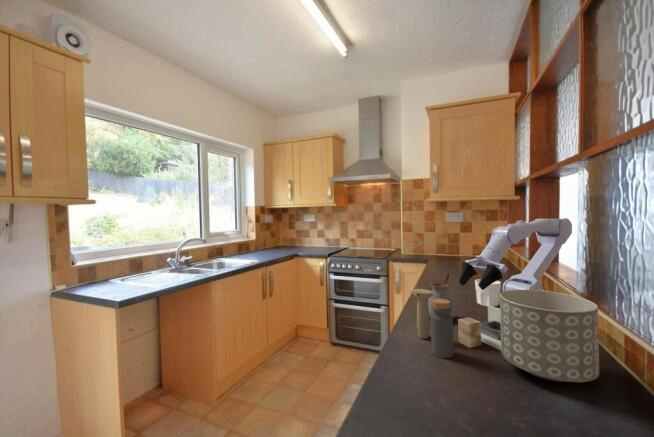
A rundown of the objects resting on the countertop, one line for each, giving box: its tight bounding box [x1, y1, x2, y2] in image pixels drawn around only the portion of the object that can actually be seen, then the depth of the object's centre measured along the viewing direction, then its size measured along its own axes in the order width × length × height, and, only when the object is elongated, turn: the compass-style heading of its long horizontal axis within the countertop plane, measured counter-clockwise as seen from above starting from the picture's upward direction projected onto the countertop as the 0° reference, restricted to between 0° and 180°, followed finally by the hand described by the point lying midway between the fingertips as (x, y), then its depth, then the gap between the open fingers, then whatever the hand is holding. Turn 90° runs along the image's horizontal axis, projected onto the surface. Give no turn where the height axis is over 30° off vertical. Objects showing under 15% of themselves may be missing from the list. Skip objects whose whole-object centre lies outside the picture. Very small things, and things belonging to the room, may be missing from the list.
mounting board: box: [481, 306, 501, 351], centre depth 91 cm, size 13×16×7 cm
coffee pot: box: [428, 272, 457, 320], centre depth 113 cm, size 21×12×15 cm, turn 144°
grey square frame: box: [481, 320, 501, 341], centre depth 91 cm, size 9×8×2 cm
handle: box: [411, 288, 433, 340], centre depth 92 cm, size 5×6×15 cm
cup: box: [474, 278, 502, 307], centre depth 125 cm, size 10×10×10 cm
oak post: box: [457, 317, 482, 349], centre depth 87 cm, size 4×4×7 cm
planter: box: [499, 289, 600, 383], centre depth 70 cm, size 19×19×18 cm
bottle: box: [430, 299, 455, 359], centre depth 81 cm, size 6×6×15 cm
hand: (470, 285), depth 89 cm, fingers open, 7 cm apart
